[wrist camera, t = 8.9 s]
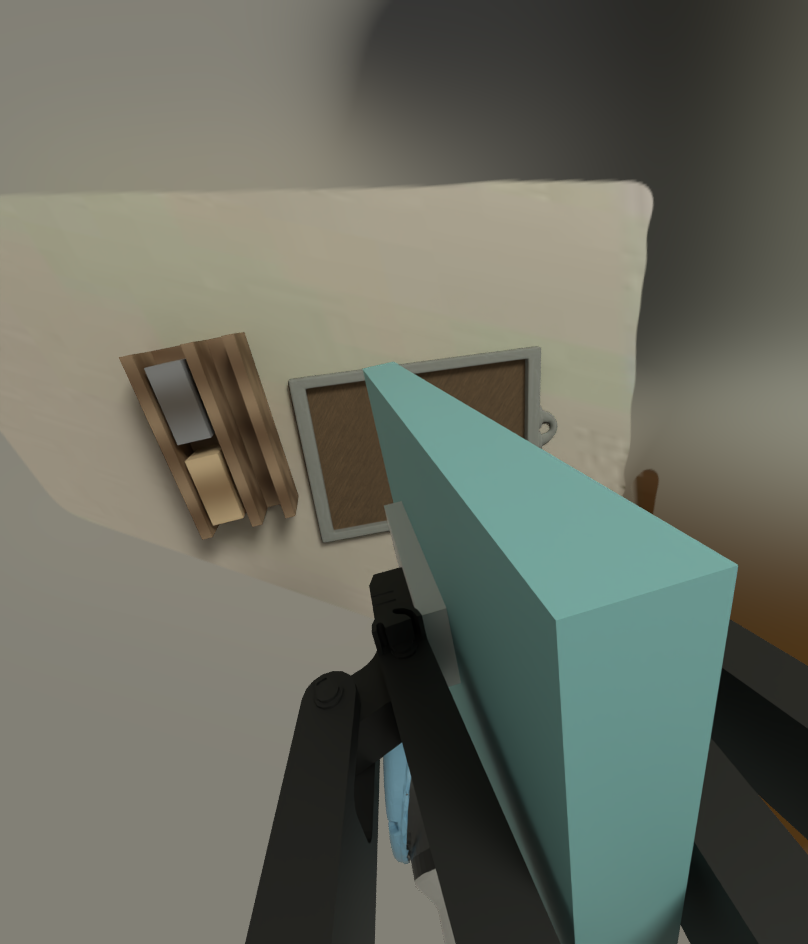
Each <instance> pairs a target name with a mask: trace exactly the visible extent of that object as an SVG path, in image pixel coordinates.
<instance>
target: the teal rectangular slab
mask: <svg viewBox="0 0 808 944" xmlns="http://www.w3.org/2000/svg"><path fill="white" fill-rule="evenodd" d="M363 374H364V378H365V382H366V387H367V391H368V395H369V400H370V404H371V408H372V412H373V417H374V421H375V425H376V430H377V434H378V438H379V443H380V447H381V451H382V456H383V460H384V464H385V469H386V473H387V477H388V482H389V486H390V490H391V495H392V499H393V503H396V502H400V501H402V503H403V506H404V508H405V511H406V513H407V515H408V518H409V520H410V522H411V525H412V527H413V530H414V532H415V534H416V537H417V539H418V542H419V544H420V546H421V549H422V551H423V554H424V556H425V558H426V561H427V563H428V565H429V568H430V570H431V573H432V575H433V577H434V580H435V582H436V585H437V587H438V589H439V592H440V594H441V597H442V599H443V601H444V604H445V606H446V609H447V614H448V619H449V624H450V629H451V634H452V639H453V645H454V650H455V655H456V660H457V665H458V670H459V675H460V680H461V683H459V684H456V685H453V686H450V687H449V690H450V692H451V694H452V696H453V699H454V701H455V703H456V705H457V708H458V710H459V712H460V715H461V717H462V719H463V721H464V724H465V726H466V728H467V731H468V733H469V735H470V737H471V740H472V742H473V744H474V747H475V749H476V751H477V753H478V756H479V758H480V760H481V763H482V765H483V767H484V769H485V772H486V774H487V776H488V779H489V781H490V783H491V785H492V788H493V790H494V792H495V795H496V797H497V799H498V801H499V804H500V806H501V808H502V810H503V813H504V815H505V817H506V820H507V822H508V824H509V826H510V829H511V831H512V833H513V836H514V838H515V840H516V842H517V845H518V847H519V849H520V852H521V854H522V856H523V858H524V861H525V863H526V865H527V868H528V870H529V872H530V874H531V877H532V879H533V881H534V884H535V886H536V888H537V890H538V893H539V895H540V897H541V900H542V902H543V904H544V906H545V909H546V911H547V913H548V916H549V918H550V920H551V922H552V925H553V927H554V929H555V931H556V934H557V936H558V938H559V941H560V943H561V944H677V943H678V937H679V930H680V924H681V918H682V912H683V906H684V899H685V893H686V887H687V881H688V874H689V868H690V862H691V856H692V850H693V843H694V837H695V831H696V825H697V818H698V812H699V806H700V800H701V794H702V787H703V781H704V775H705V769H706V762H707V756H708V750H709V744H710V738H711V731H712V725H713V719H714V713H715V706H716V700H717V694H718V688H719V682H720V675H721V669H722V663H723V657H724V650H725V644H726V638H727V632H728V626H729V619H730V613H731V607H732V601H733V594H734V588H735V582H736V576H737V569H738V565H737V564H735V563H734V562H732V561H730V560H729V559H727V558H725V557H723V556H721V555H720V554H718V553H717V552H715V551H713V550H712V549H710V548H708V547H707V546H705V545H703V544H701V543H700V542H698V541H696V540H695V539H693V538H691V537H690V536H688V535H686V534H684V533H683V532H681V531H679V530H678V529H676V528H674V527H673V526H671V525H669V524H668V523H666V522H664V521H662V520H661V519H659V518H657V517H655V516H654V515H652V514H651V513H649V512H647V511H646V510H644V509H642V508H640V507H639V506H637V505H635V504H634V503H632V502H630V501H629V500H627V499H625V498H623V497H622V496H620V495H618V494H617V493H615V492H613V491H612V490H610V489H608V488H607V487H605V486H603V485H601V484H600V483H598V482H596V481H595V480H593V479H591V478H590V477H588V476H586V475H585V474H583V473H581V472H579V471H578V470H576V469H574V468H573V467H571V466H569V465H568V464H566V463H564V462H563V461H561V460H559V459H557V458H556V457H554V456H552V455H551V454H549V453H547V452H546V451H544V450H542V449H540V448H539V447H537V446H535V445H534V444H532V443H530V442H529V441H527V440H525V439H524V438H522V437H520V436H518V435H517V434H515V433H513V432H512V431H510V430H508V429H507V428H505V427H503V426H502V425H500V424H498V423H496V422H495V421H493V420H491V419H490V418H488V417H486V416H485V415H483V414H481V413H480V412H478V411H476V410H474V409H473V408H471V407H469V406H468V405H466V404H464V403H463V402H461V401H459V400H457V399H456V398H454V397H452V396H451V395H449V394H447V393H446V392H444V391H442V390H441V389H439V388H437V387H435V386H434V385H432V384H430V383H429V382H427V381H425V380H424V379H422V378H420V377H419V376H417V375H415V374H413V373H412V372H410V371H408V370H407V369H405V368H403V367H402V366H400V365H398V364H397V363H395V362H390V363H386V364H381V365H377V366H372V367H368V368H364V369H363Z"/></svg>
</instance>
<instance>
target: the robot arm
mask: <svg viewBox="0 0 808 944" xmlns="http://www.w3.org/2000/svg"><path fill="white" fill-rule="evenodd" d="M384 508H385V512H386V516H387V521H388V525H389V529H390V533H391V537H392V541H393V545H394V549H395V554H396V558H397V562H398V565H399V568H396V569H393V570H389V571H386V572H382V573H378V574H375V575H373V578H372V580H371V583H370V585H369V587H370V593H371V598H372V605H373V612H374V618H375V620H374V622H373V624H372V635H373V638H374V641H375V645H376V648H377V652H376V654H375V656H374V657H373V659H372V660H371V661H370V662H369V663H368V664H367V665H366V666H365V667H363V668H362V669H361V670H359V671H357V672H356V673H354V674H353V675H351V676H350V675H349V674H347V673H344V672H343V671H332V672H329V673H326V674H323V675H321V676H320V677H318V678H317V679H316V680H314V681H313V682H312V683H311V684H310V686H309V687H308V688H307V689H306V691H305V693H304V696H303V698H302V701H301V706H300V710H299V714H298V718H297V722H296V727H295V731H294V736H293V740H292V744H291V748H290V753H289V757H288V761H287V766H286V770H285V774H284V779H283V783H282V787H281V792H280V796H279V800H278V805H277V809H276V813H275V817H274V821H273V826H272V830H271V834H270V839H269V843H268V847H267V852H266V856H265V860H264V865H263V869H262V874H261V877H260V882H259V886H258V890H257V895H256V899H255V903H254V908H253V912H252V917H251V921H250V925H249V929H248V933H247V938H246V942H245V944H375V913H376V911H375V910H376V909H375V908H376V877H377V843H378V842H377V841H378V840H377V839H378V806H379V772H380V771H379V769H380V758H382V757H383V765H384V766H383V767H384V788H385V802H386V812H387V818H388V820H389V831H390V842H391V847H392V851H393V855H394V857H395V859H396V860H397V861H398V862H403V863H404V864H408V863H410V860H411V863H412V868H413V874H414V880H415V885H416V888H417V889H419V890H420V891H421V892H422V893H423V894H424V895H425V896H426V897H427V898H428V899H429V900H431V901H432V902H433V903H434V905H435V906H436V908H437V909H438V912H439V917H440V922H441V927H442V932H443V937H444V942H445V944H561V943H560V941H559V938H558V936H557V934H556V931H555V929H554V927H553V925H552V922H551V920H550V918H549V916H548V913H547V911H546V909H545V906H544V904H543V902H542V900H541V897H540V895H539V893H538V890H537V888H536V886H535V884H534V881H533V879H532V877H531V874H530V872H529V870H528V868H527V865H526V863H525V861H524V858H523V856H522V854H521V852H520V849H519V847H518V845H517V842H516V840H515V838H514V836H513V833H512V831H511V829H510V826H509V824H508V822H507V820H506V817H505V815H504V813H503V810H502V808H501V806H500V804H499V801H498V799H497V797H496V795H495V792H494V790H493V788H492V785H491V783H490V781H489V779H488V776H487V774H486V772H485V769H484V767H483V765H482V763H481V760H480V758H479V756H478V753H477V751H476V749H475V747H474V744H473V742H472V740H471V737H470V735H469V733H468V731H467V728H466V726H465V724H464V721H463V719H462V717H461V715H460V712H459V710H458V708H457V705H456V703H455V701H454V699H453V696H452V694H451V692H450V690H449V687H450V686H453V685H456V684H459V683H461V680H460V675H459V670H458V665H457V660H456V655H455V650H454V645H453V639H452V634H451V629H450V624H449V619H448V614H447V609H446V606H445V604H444V601H443V599H442V597H441V594H440V592H439V589H438V587H437V585H436V582H435V580H434V577H433V575H432V573H431V570H430V568H429V565H428V563H427V561H426V558H425V556H424V554H423V551H422V549H421V546H420V544H419V542H418V539H417V537H416V534H415V532H414V530H413V527H412V525H411V522H410V520H409V518H408V515H407V513H406V511H405V508H404V506H403V503H402V501H400V502H396V503H392V504H388V505H384ZM759 796H761V797H762V798H763V799H764V800H765V801H766V802H767V803H768V804H769V805H770V806H771V807H773V808H774V809H775V810H776V811H777V812H778V813H779V814H780V815H781V816H782V817H783V818H785V819H786V820H787V821H788V822H789V823H790V824H791V825H792V826H794V828H795V829H797V830H798V831H799V832H800V833H801V834H802V835H803V836H804V837H805V838H806V839H807V840H808V666H807V665H805V664H804V663H802V662H800V661H798V660H797V659H795V658H794V657H792V656H790V655H789V654H787V653H785V652H783V651H782V650H780V649H779V648H777V647H775V646H774V645H772V644H770V643H768V642H767V641H765V640H764V639H762V638H760V637H758V636H757V635H755V634H754V633H752V632H750V631H748V630H747V629H745V628H743V627H742V626H740V625H738V624H737V623H735V622H733V621H732V620H730V619H729V626H728V632H727V638H726V644H725V650H724V657H723V663H722V669H721V675H720V682H719V688H718V694H717V700H716V706H715V713H714V719H713V725H712V731H711V738H710V744H709V750H708V756H707V762H706V769H705V775H704V781H703V787H702V794H701V800H700V806H699V812H698V818H697V825H696V831H695V837H694V843H693V850H692V856H691V862H690V868H689V874H688V881H687V887H686V893H685V899H684V906H683V912H682V918H681V924H680V925H681V926H682V928H683V930H684V932H685V934H686V936H687V938H688V940H689V942H690V943H691V944H808V855H807V854H806V852H805V851H804V850H803V848H802V847H801V846H800V845H799V844H798V842H797V841H796V840H795V839H794V838H793V836H792V835H791V834H790V833H789V832H788V830H787V829H786V828H785V827H784V826H783V824H782V823H781V822H780V821H779V819H778V818H777V817H776V816H775V815H774V814H773V812H772V811H771V810H770V809H769V807H768V806H767V805H766V804H765V803H764V802H763V800H762V799H761V798H760V797H759Z"/></svg>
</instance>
